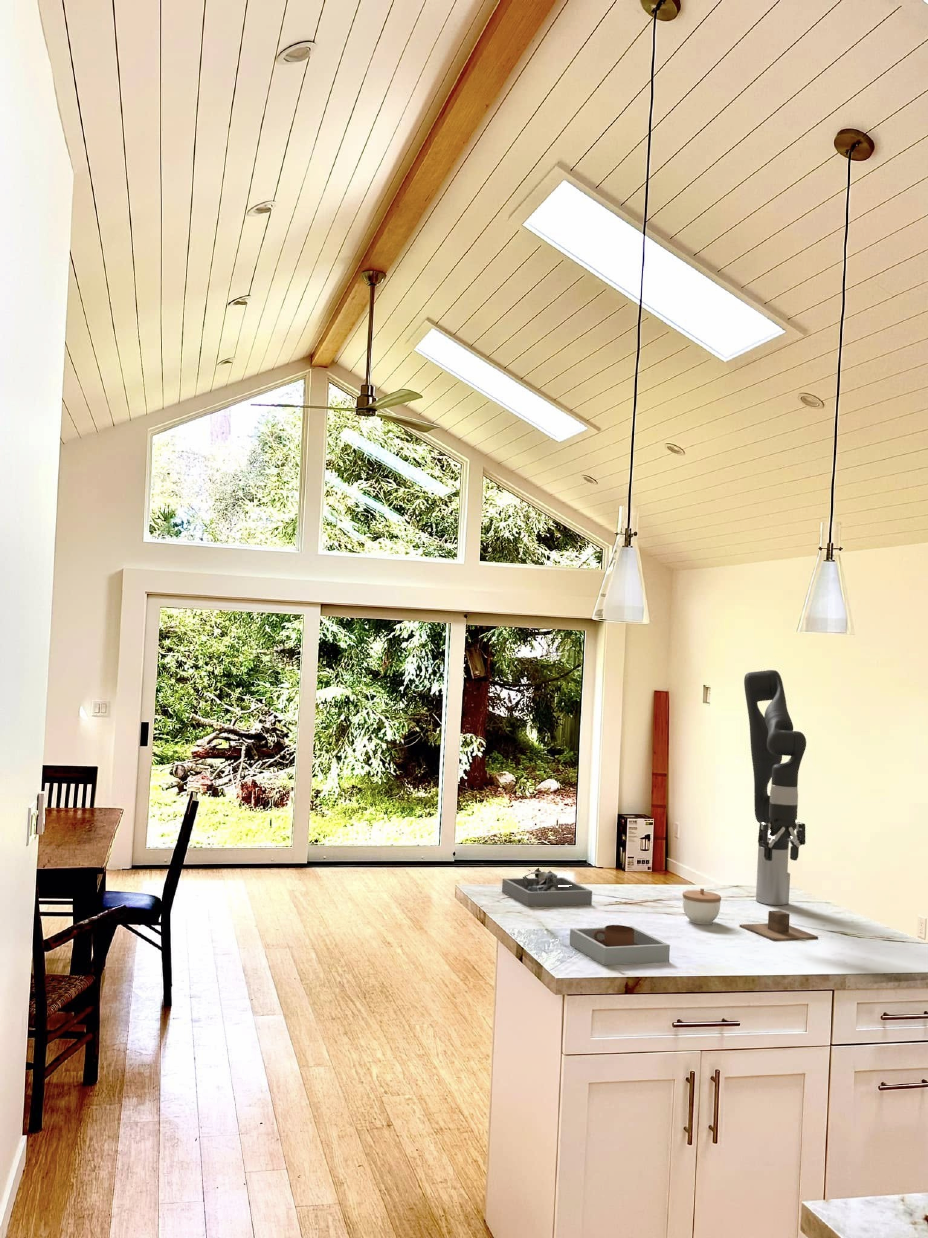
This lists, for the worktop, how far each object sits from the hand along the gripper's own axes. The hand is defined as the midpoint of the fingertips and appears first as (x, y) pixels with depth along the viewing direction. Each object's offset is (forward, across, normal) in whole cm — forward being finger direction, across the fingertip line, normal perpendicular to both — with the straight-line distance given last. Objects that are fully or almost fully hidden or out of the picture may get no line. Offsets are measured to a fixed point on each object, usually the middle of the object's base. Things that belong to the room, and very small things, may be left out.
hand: (780, 860), depth 291 cm
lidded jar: (+20, +16, -14) cm, 29 cm away
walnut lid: (+21, 0, 0) cm, 21 cm away
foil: (+20, +50, -48) cm, 72 cm away
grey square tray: (+20, +57, +11) cm, 61 cm away
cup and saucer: (+20, +57, +11) cm, 61 cm away
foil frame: (+20, +49, -47) cm, 71 cm away
